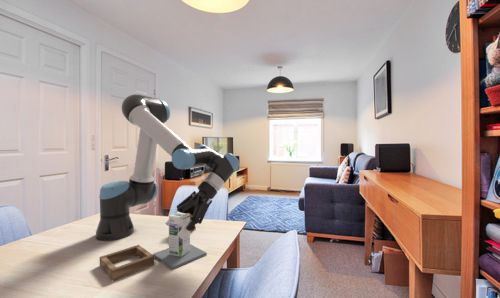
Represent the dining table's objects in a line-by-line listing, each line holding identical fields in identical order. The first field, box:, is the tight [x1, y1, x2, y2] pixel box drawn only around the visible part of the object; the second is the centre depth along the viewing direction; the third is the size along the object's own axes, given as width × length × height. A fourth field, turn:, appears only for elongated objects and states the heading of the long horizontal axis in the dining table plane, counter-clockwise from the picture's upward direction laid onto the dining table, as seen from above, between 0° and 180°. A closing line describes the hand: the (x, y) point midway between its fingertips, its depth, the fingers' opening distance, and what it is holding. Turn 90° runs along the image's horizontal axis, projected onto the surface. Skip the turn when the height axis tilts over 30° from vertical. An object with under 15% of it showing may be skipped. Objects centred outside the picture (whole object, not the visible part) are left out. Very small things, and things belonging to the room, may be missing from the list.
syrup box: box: [168, 212, 191, 257], centre depth 88 cm, size 6×6×14 cm
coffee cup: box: [183, 206, 197, 232], centre depth 114 cm, size 9×8×13 cm
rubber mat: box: [152, 243, 208, 270], centre depth 88 cm, size 14×14×1 cm
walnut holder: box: [99, 244, 155, 281], centre depth 81 cm, size 13×13×3 cm
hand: (173, 231), depth 86 cm, fingers open, 13 cm apart
